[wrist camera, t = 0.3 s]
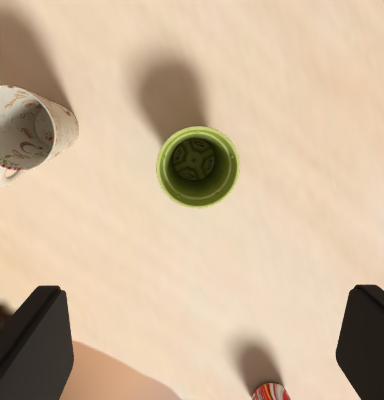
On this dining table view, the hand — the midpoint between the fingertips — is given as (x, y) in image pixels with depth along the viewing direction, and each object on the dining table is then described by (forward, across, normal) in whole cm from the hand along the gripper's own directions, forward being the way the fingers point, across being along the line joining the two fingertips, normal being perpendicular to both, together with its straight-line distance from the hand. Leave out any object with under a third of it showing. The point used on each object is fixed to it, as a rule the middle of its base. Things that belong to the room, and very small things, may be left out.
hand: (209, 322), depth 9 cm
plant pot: (+31, -1, -1) cm, 31 cm away
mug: (+31, +19, -3) cm, 37 cm away
